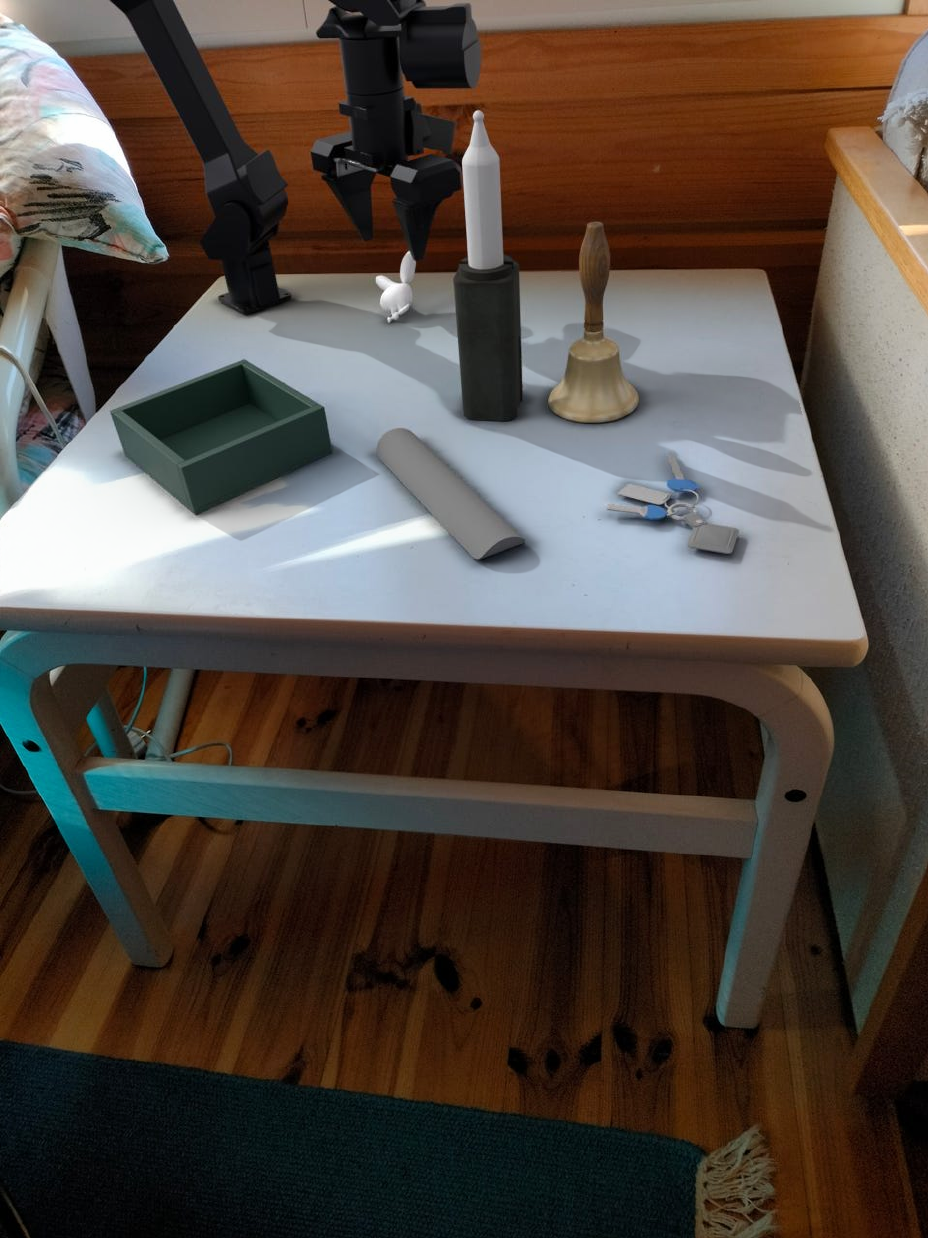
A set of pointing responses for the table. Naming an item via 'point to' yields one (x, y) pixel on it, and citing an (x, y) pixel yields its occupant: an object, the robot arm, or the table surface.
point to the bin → (222, 434)
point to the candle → (487, 293)
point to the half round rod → (446, 495)
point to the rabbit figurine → (397, 289)
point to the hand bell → (593, 349)
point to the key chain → (702, 532)
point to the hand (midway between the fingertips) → (392, 249)
